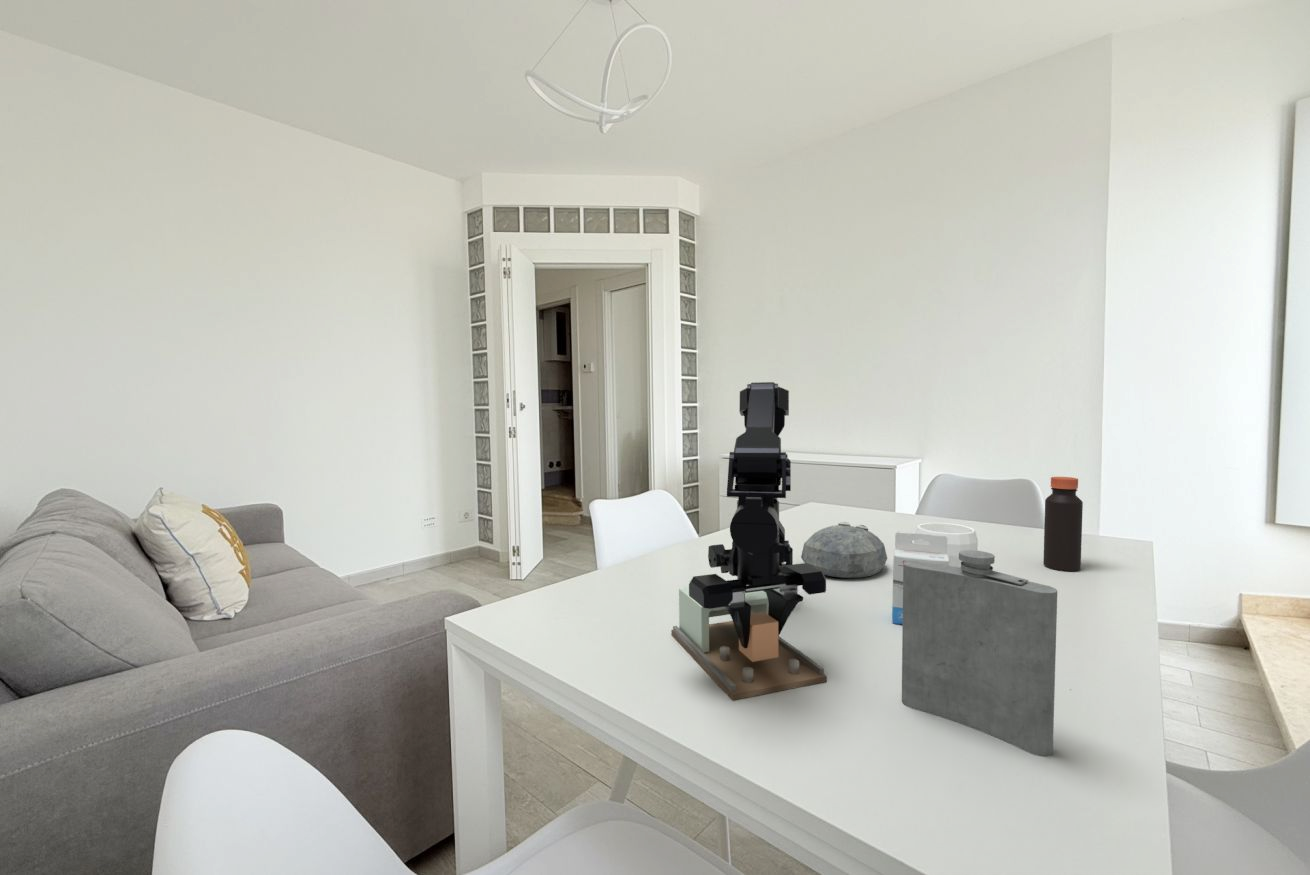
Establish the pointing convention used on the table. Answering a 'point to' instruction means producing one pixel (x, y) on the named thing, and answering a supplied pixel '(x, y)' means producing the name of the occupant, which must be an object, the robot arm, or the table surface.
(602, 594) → the table surface
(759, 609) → the housing
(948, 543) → the cup
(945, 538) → the ink box
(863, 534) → the decorative stone
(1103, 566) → the table surface
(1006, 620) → the hip flask
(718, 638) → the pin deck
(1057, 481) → the bottle
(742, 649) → the block
